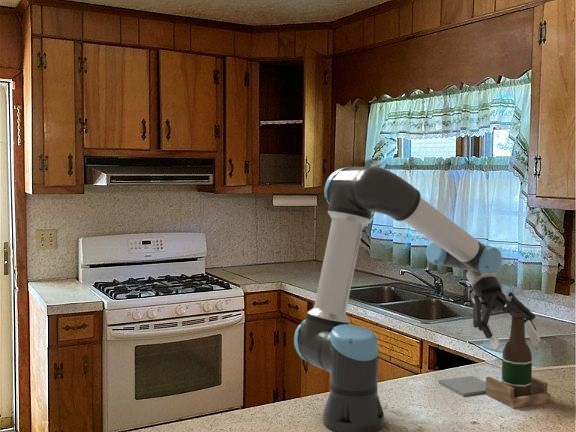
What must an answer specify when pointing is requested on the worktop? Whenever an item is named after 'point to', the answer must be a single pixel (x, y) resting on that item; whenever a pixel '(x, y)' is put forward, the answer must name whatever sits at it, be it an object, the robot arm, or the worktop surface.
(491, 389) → the cradle
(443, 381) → the coaster
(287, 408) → the worktop surface
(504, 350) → the beer bottle
